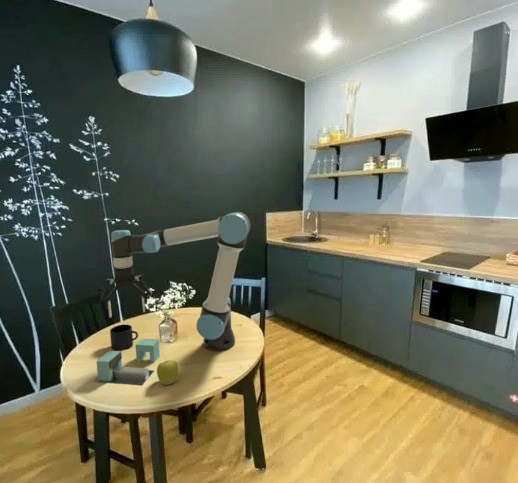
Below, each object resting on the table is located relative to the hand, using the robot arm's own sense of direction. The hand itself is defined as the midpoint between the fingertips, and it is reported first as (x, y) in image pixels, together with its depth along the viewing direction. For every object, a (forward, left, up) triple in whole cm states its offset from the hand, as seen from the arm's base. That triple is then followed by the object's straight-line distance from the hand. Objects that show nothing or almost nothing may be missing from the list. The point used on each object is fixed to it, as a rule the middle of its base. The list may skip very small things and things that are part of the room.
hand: (127, 313), depth 136 cm
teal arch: (-10, +2, -20) cm, 22 cm away
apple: (-25, +17, -20) cm, 36 cm away
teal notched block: (-1, +16, -19) cm, 25 cm away
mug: (+7, -8, -20) cm, 23 cm away
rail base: (-7, +16, -20) cm, 26 cm away
